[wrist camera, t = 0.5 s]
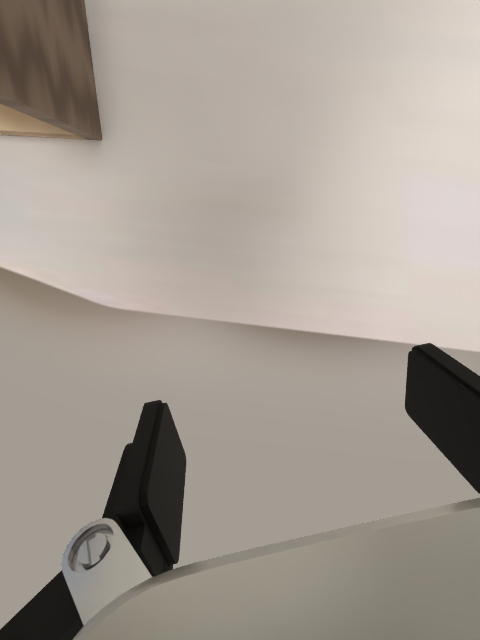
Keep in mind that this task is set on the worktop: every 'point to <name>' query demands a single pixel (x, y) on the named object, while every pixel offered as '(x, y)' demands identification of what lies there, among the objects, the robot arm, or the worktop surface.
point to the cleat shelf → (47, 70)
